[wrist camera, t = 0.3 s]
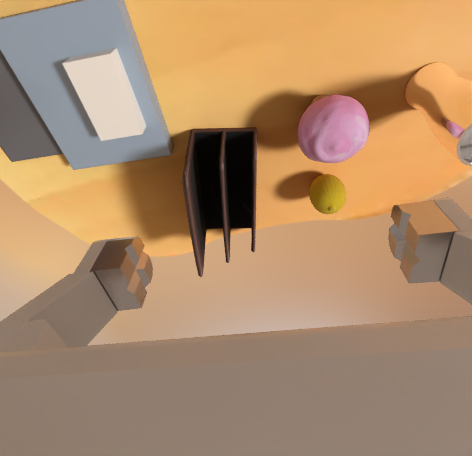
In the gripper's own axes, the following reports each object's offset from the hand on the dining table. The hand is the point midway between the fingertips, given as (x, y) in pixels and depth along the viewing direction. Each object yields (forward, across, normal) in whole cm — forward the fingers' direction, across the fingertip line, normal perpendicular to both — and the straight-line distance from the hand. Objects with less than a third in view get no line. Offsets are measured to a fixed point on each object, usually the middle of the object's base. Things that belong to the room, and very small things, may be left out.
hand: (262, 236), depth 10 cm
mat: (+38, +36, +1) cm, 52 cm away
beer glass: (+39, -23, +8) cm, 46 cm away
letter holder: (+40, +7, +19) cm, 45 cm away
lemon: (+40, -9, +21) cm, 46 cm away
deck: (+38, +22, +1) cm, 44 cm away
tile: (+35, +19, +1) cm, 40 cm away
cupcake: (+39, -9, +9) cm, 41 cm away
